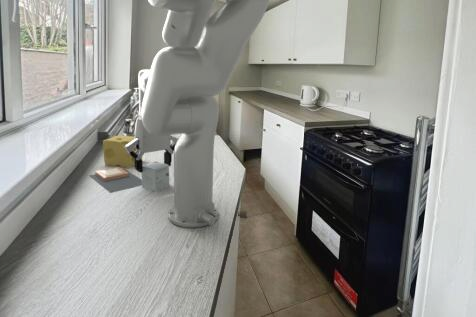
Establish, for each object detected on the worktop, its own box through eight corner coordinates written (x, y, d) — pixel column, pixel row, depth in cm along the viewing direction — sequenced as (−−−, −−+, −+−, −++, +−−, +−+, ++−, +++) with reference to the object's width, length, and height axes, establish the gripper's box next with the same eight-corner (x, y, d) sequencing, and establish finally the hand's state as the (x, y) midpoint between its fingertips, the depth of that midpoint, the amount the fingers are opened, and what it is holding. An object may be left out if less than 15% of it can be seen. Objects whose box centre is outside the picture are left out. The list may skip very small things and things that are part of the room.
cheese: (129, 169, 110) (127, 142, 107) (102, 166, 112) (100, 139, 109) (143, 161, 120) (142, 136, 117) (119, 158, 122) (117, 134, 119)
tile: (128, 172, 102) (118, 166, 107) (104, 177, 96) (94, 170, 102) (128, 176, 102) (118, 169, 108) (104, 181, 97) (95, 174, 102)
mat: (148, 184, 97) (148, 183, 97) (110, 194, 89) (110, 192, 89) (124, 169, 109) (124, 168, 109) (88, 176, 101) (88, 175, 101)
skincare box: (155, 192, 92) (154, 169, 89) (141, 187, 94) (140, 165, 92) (169, 186, 96) (169, 164, 94) (156, 182, 99) (155, 160, 97)
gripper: (171, 109, 97) (171, 159, 103) (118, 113, 86) (121, 169, 91) (185, 113, 92) (184, 166, 98) (130, 118, 81) (132, 177, 86)
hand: (153, 167), depth 95 cm, fingers open, 9 cm apart
